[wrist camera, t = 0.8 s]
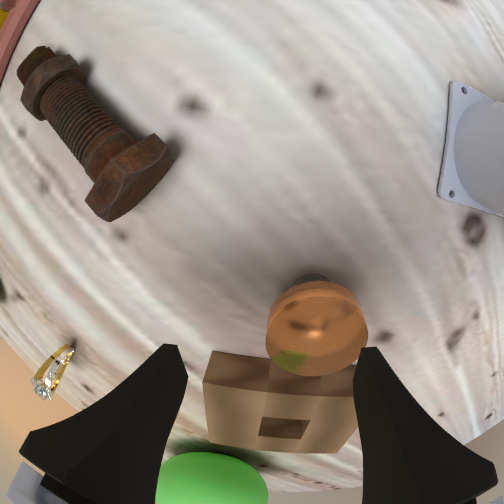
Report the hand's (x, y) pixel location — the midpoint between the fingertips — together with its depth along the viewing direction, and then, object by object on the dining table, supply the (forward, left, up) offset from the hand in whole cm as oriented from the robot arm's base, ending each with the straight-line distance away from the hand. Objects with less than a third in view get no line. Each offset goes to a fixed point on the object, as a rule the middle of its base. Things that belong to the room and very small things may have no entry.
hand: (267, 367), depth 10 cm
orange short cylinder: (-3, +2, -9) cm, 9 cm away
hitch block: (-3, +15, -9) cm, 17 cm away
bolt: (+13, -10, -9) cm, 19 cm away
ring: (+22, +15, -9) cm, 28 cm away
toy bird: (+4, +36, -9) cm, 37 cm away
